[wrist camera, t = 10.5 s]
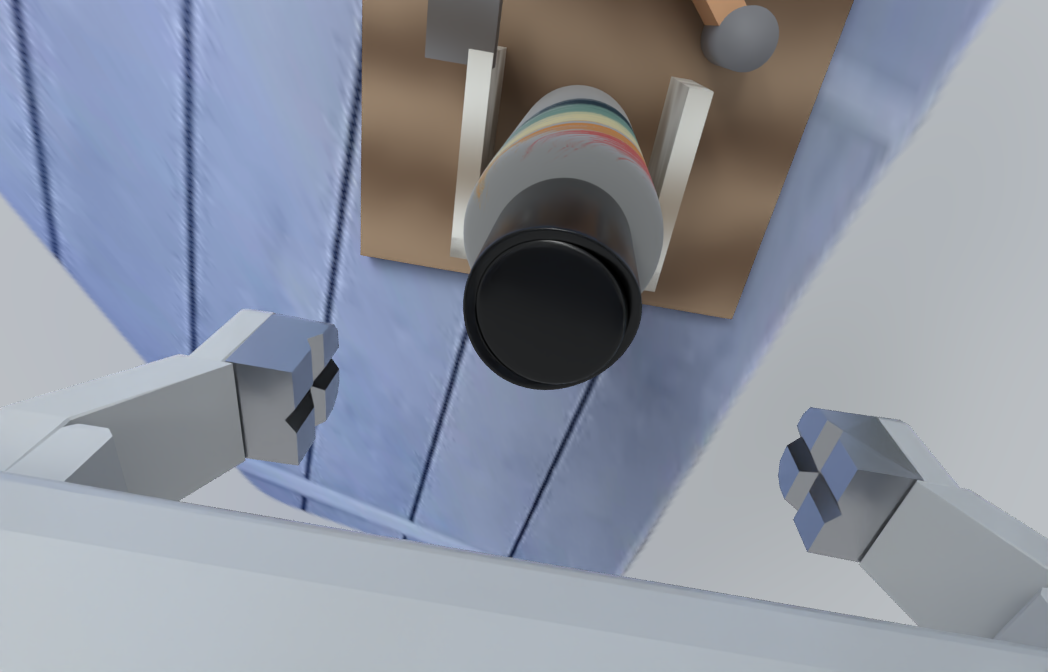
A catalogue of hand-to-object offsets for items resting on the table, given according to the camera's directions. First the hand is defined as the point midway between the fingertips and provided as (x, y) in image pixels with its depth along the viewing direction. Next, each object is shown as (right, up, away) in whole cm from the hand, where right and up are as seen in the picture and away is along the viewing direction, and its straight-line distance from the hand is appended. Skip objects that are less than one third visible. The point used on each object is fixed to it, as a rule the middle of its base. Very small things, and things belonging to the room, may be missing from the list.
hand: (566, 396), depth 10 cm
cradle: (+2, +13, +19) cm, 23 cm away
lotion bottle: (+2, +11, +19) cm, 22 cm away
